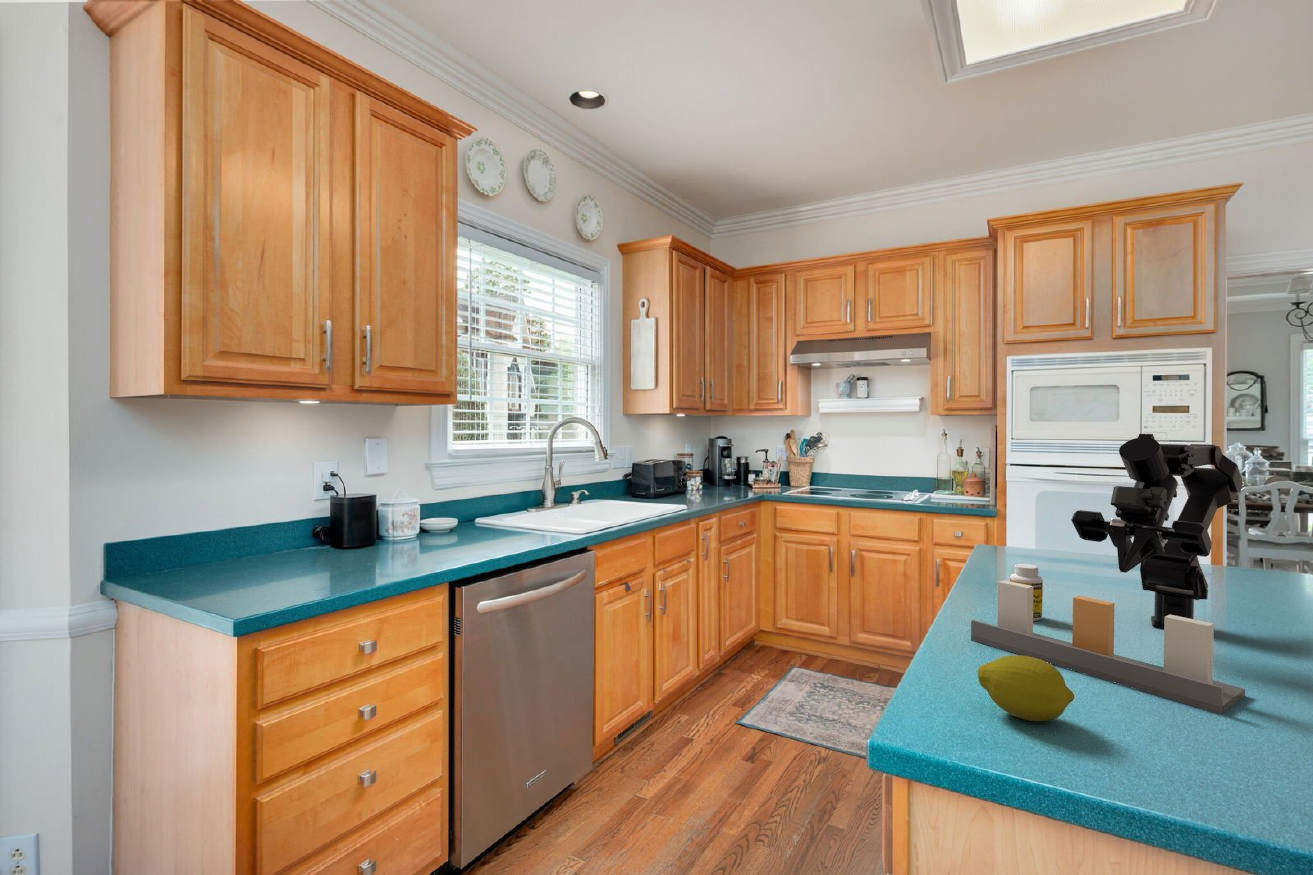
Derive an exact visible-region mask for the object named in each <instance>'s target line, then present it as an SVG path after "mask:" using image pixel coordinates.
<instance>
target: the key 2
mask: <svg viewBox="0 0 1313 875" xmlns="http://www.w3.org/2000/svg"><path fill="white" fill-rule="evenodd" d="M1214 628H1215V623H1213V622H1208V621H1203V620H1198V619H1189V618H1184V617H1180V616H1175V615H1168V616H1165V618H1164V628H1163V629H1164V630H1163V632H1164V633H1163V667H1164V671H1166V672H1170V673H1173V674H1177V675H1181V676H1184V677H1188V678H1192V679H1196V680H1199V681H1203V682H1207V683H1211V684H1213V681H1214V680H1213V679H1214V677H1213V676H1214V635H1215V634H1214V630H1215V629H1214Z"/></svg>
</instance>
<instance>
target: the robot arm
mask: <svg viewBox="0 0 1313 875" xmlns="http://www.w3.org/2000/svg"><path fill="white" fill-rule="evenodd" d="M1118 453H1119V456H1120V458H1121V460H1122V464H1123V465H1124V467H1125V470H1126V473H1127V475H1128V477H1129V479H1130V480H1133V481H1135V483H1134V485H1133V486H1121V485H1117V486H1116V485H1115V486H1113V489H1112V496H1111V500H1110V503H1109V504H1110V505H1111V506H1113V507H1115V512H1114V514H1115V516H1116V518H1113V517H1112V518H1110V520H1107V521H1106V520H1105V518H1104V515H1103V514H1102V512H1101V511H1092V510H1082V509H1080V510H1076V511H1075V512H1074V513H1073V514H1072V517H1071V519H1070V520H1071V522H1072V525H1073V526H1074V528H1075V530H1076V532H1077V535H1078V537H1079V538H1080V539H1082V540H1084V541H1090V542H1096V543H1097V542H1098V543H1101V542H1103V541H1106V540H1107V539H1108V536H1109V538H1110V540H1111V542H1112V545H1113V547H1115V548H1116V551H1117V562H1118V563H1117V564H1118V570H1119V572H1120V573H1125V574H1126V573H1128V572H1130V571H1131V570H1132V569H1134V568H1135V567H1137V566H1138V565H1139V564H1140V565H1139V573H1140V579H1141V580H1140V581H1141V586H1142V591H1146V592H1147V591H1148V592H1154V610H1153V612H1154V615H1151V616H1150V621H1151V626H1152V627H1154V628H1159V629H1164V618H1165V616H1168V615H1175V616H1180V617H1184V618H1189V619H1194V615H1195V612H1194V611H1195V601H1201V600H1204V601H1205V600H1206V601H1207V600H1208V598H1209V597H1208V595H1209V594H1208V593H1209V589H1208V588H1209V585H1208V581H1207V579H1206V577H1205V574H1204V572H1203V569H1202V567H1201V566H1200V564H1201V563H1200V561H1199V557H1205V558H1206V557H1209V555H1210V554H1211V550H1212V544H1213V542H1212V540H1211V538H1210V534H1209V531H1208V530H1209V528H1210V526H1211V524H1212V521H1213V519H1214V518H1215V514H1216V512H1217V511H1218V509H1220V508H1222V507H1225V506H1228V505H1229V504H1231V503H1233V501H1234V500H1235V498H1236V497H1237V495H1238V494H1240V493H1241V491H1242V488H1243V478H1242V476H1241V475H1242V474H1241V471H1240V469H1239V467H1238V464H1237V463H1235V462H1234V461H1233V460H1231V459H1230V458H1228V457H1227V456H1226V455H1224V454H1223V452H1222V449H1221V447H1220V446H1218V445H1215V444H1208V443H1207V444H1203V443H1202V444H1198V443H1191V444H1190V445H1189V444H1178V443H1177V444H1174V443H1173V444H1172V443H1159V442H1158V441H1157V440H1156V439H1155V436H1154V434H1153V433H1139V434H1138V436H1137V437H1135V438H1132V439H1130V440H1128V441H1126V442H1125V443H1123V444H1122V445H1120V447H1119V449H1118ZM1201 466H1202V467H1201ZM1204 466H1213V467H1214V468H1213V467H1211V468H1210V467H1204ZM1176 477H1180V478H1181V481H1182V484H1183V486H1184V488H1185V491H1186V494H1187V499H1186V501H1185V504H1184V505H1183V507H1182V510H1181V512H1180V514H1179V516H1178V518H1177V520H1173V521H1172V525H1171V527H1170V526H1164V523H1165V522H1168V521H1169V519H1170V515H1169V510H1170V507H1171V505H1172V501H1173V499H1176V498H1177V497H1178V491H1177V488H1178V486H1179V482H1178V481H1177V479H1176ZM1132 538H1133V539H1132ZM1132 540H1133V541H1132ZM1194 620H1195V619H1194Z"/></svg>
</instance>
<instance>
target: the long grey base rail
mask: <svg viewBox="0 0 1313 875" xmlns="http://www.w3.org/2000/svg"><path fill="white" fill-rule="evenodd" d="M970 624H971V625H970V640H971V641H973V642H975V643H979V644H982V645H987V646H990V647H993V648H995V649H999V650H1003V651H1006V652H1009V653H1013V654H1015V655H1022V656H1029V657H1034V658H1037V659H1041V660H1043V661H1045V662H1048V663H1051V665H1053V664H1056V665H1058V666H1057V667H1059V666H1061V667H1060V668H1063V667H1064V668H1063V669H1066V668H1069V669H1068V670H1070V669H1072V670H1071V671H1073V670H1075V671H1074V672H1076V671H1077V672H1078V673H1080V674H1083V673H1085V674H1084V675H1086V674H1087V676H1091V677H1093V678H1097V679H1101V680H1103V681H1107V682H1110V683H1113V682H1116V683H1115V684H1117V683H1119V684H1118V685H1120V684H1121V685H1120V686H1123V685H1124V687H1127V688H1130V687H1133V688H1136V689H1135V690H1137V689H1138V690H1137V691H1140V692H1144V691H1145V692H1144V693H1147V692H1149V693H1148V694H1150V693H1151V694H1150V695H1154V696H1157V697H1160V696H1161V697H1160V698H1164V699H1167V700H1171V701H1175V702H1178V703H1181V704H1184V705H1188V706H1191V707H1194V708H1198V709H1200V710H1201V709H1202V710H1205V711H1207V712H1212V713H1214V714H1218V715H1223V714H1224V713H1225V712H1226V711H1228V710H1229V709H1230V708H1232V707H1233V706H1234V705H1235V704H1236V703H1238V702H1239V701H1241V700H1242V699H1243V698H1244V697H1246V688H1245V687H1244V688H1243V687H1239V686H1236V685H1232V684H1229V683H1225V682H1220V681H1217V680H1213V684H1211V683H1207V682H1203V681H1199V680H1196V679H1192V678H1188V677H1184V676H1181V675H1177V674H1173V673H1170V672H1166V671H1164V666H1160V665H1156V664H1153V663H1150V662H1149V663H1148V662H1145V661H1141V660H1137V659H1133V658H1129V657H1127V656H1122V655H1119V654H1115V653H1114V657H1110V656H1106V655H1103V654H1099V653H1095V652H1091V651H1088V650H1084V649H1080V648H1076V647H1073V646H1072V642H1069V641H1065V640H1062V639H1058V638H1055V637H1052V636H1046V635H1043V634H1040V633H1035V632H1033V636H1032V635H1028V634H1024V633H1021V632H1017V631H1013V630H1009V629H1006V628H1002V627H998V625H994V624H991V623H987V622H984V621H979V620H975V619H972V620H971V621H970ZM1056 665H1055V666H1056ZM1133 688H1132V689H1133Z"/></svg>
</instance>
